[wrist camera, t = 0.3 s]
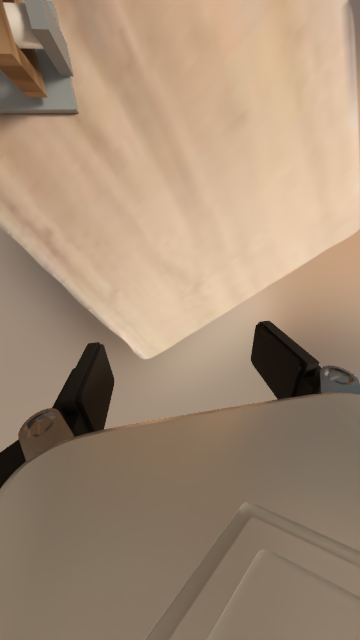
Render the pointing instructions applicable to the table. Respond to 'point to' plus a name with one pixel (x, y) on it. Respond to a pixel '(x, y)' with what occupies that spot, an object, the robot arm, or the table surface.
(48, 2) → the pipe stand
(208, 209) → the table surface
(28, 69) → the collar
